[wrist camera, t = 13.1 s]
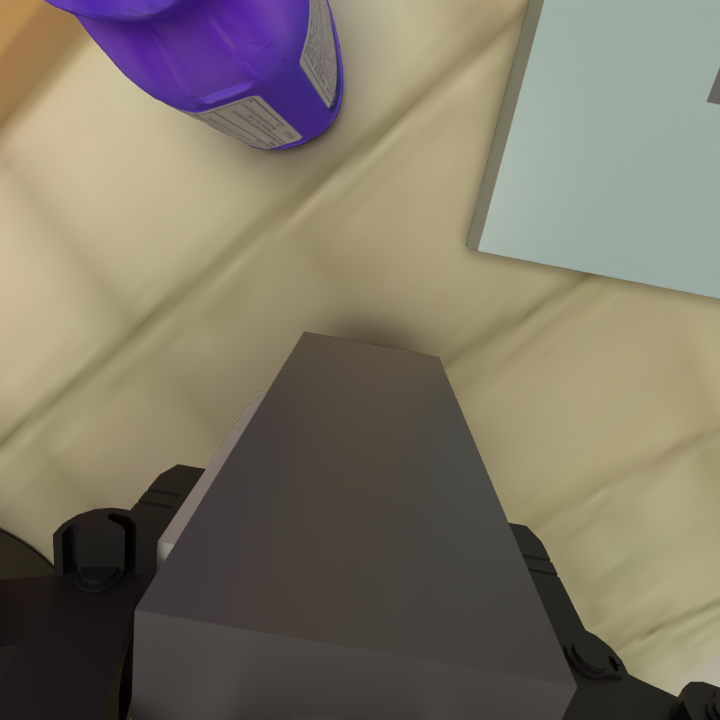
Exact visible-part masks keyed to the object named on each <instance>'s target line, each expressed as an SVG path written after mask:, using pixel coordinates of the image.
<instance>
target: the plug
mask: <svg viewBox="0 0 720 720" xmlns="http://www.w3.org/2000/svg"><path fill="white" fill-rule="evenodd" d="M576 689H577V685H576V682H575V680H574V677H573V675H572V673H571V670H570V668H569V666H568V663H567V661H566V658H565V656H564V654H563V651H562V649H561V647H560V644H559V642H558V639H557V637H556V635H555V632H554V630H553V628H552V625H551V623H550V620H549V618H548V616H547V613H546V611H545V609H544V606H543V604H542V601H541V599H540V597H539V594H538V592H537V590H536V587H535V585H534V582H533V580H532V578H531V575H530V573H529V571H528V568H527V566H526V563H525V561H524V559H523V556H522V554H521V551H520V549H519V547H518V544H517V542H516V540H515V537H514V535H513V532H512V530H511V528H510V525H509V523H508V521H507V518H506V516H505V513H504V511H503V509H502V506H501V504H500V502H499V499H498V497H497V494H496V492H495V490H494V487H493V485H492V483H491V480H490V478H489V475H488V473H487V471H486V468H485V466H484V464H483V461H482V459H481V456H480V454H479V452H478V449H477V447H476V445H475V442H474V440H473V437H472V435H471V433H470V430H469V428H468V425H467V423H466V421H465V418H464V416H463V414H462V411H461V409H460V406H459V404H458V402H457V399H456V397H455V395H454V392H453V390H452V387H451V385H450V383H449V380H448V378H447V376H446V373H445V371H444V368H443V366H442V364H441V361H440V359H439V357H436V356H431V355H425V354H420V353H415V352H410V351H404V350H399V349H394V348H388V347H383V346H378V345H373V344H367V343H362V342H357V341H351V340H346V339H341V338H336V337H330V336H325V335H320V334H315V333H309V332H304V333H303V335H302V336H301V338H300V339H299V341H298V343H297V344H296V346H295V348H294V349H293V351H292V353H291V354H290V356H289V357H288V359H287V361H286V362H285V364H284V366H283V367H282V369H281V371H280V372H279V374H278V376H277V377H276V379H275V380H274V382H273V384H272V385H271V387H270V389H269V390H268V392H267V394H266V395H265V397H264V399H263V400H262V402H261V403H260V405H259V407H258V408H257V410H256V412H255V413H254V415H253V417H252V418H251V420H250V422H249V423H248V425H247V426H246V428H245V430H244V431H243V433H242V435H241V436H240V438H239V440H238V441H237V443H236V444H235V446H234V448H233V449H232V451H231V453H230V454H229V456H228V458H227V459H226V461H225V463H224V464H223V466H222V467H221V469H220V471H219V472H218V474H217V476H216V477H215V479H214V481H213V482H212V484H211V486H210V487H209V489H208V490H207V492H206V494H205V495H204V497H203V499H202V500H201V502H200V504H199V505H198V507H197V508H196V510H195V512H194V513H193V515H192V517H191V518H190V520H189V522H188V523H187V525H186V527H185V528H184V530H183V531H182V533H181V535H180V536H179V538H178V540H177V541H176V543H175V545H174V546H173V548H172V550H171V551H170V553H169V554H168V556H167V558H166V559H165V561H164V563H163V564H162V566H161V568H160V569H159V571H158V573H157V574H156V576H155V577H154V579H153V581H152V582H151V584H150V586H149V587H148V589H147V591H146V592H145V594H144V595H143V597H142V599H141V600H140V602H139V604H138V605H137V607H136V609H135V614H134V646H133V678H132V710H131V720H562V718H563V716H564V714H565V712H566V709H567V707H568V705H569V703H570V701H571V699H572V697H573V695H574V693H575V691H576Z"/></svg>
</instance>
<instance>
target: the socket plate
mask: <svg viewBox="0 0 720 720" xmlns="http://www.w3.org/2000/svg"><path fill="white" fill-rule="evenodd" d="M466 246H469V247H471V248H473V249H475V250H477V251H481V252H486V253H491V254H496V255H501V256H506V257H511V258H517V259H522V260H527V261H532V262H537V263H542V264H547V265H552V266H557V267H562V268H567V269H572V270H578V271H583V272H588V273H593V274H598V275H603V276H608V277H613V278H618V279H623V280H628V281H633V282H639V283H644V284H649V285H654V286H659V287H664V288H669V289H674V290H679V291H684V292H689V293H694V294H700V295H705V296H710V297H715V298H720V0H529V3H528V7H527V11H526V14H525V18H524V22H523V26H522V30H521V34H520V38H519V42H518V46H517V50H516V53H515V57H514V61H513V65H512V69H511V73H510V77H509V81H508V85H507V88H506V92H505V96H504V100H503V104H502V108H501V112H500V116H499V120H498V123H497V127H496V131H495V135H494V139H493V143H492V147H491V151H490V155H489V159H488V162H487V166H486V170H485V174H484V178H483V182H482V186H481V190H480V194H479V197H478V201H477V205H476V209H475V213H474V217H473V221H472V225H471V229H470V233H469V236H468V240H467V244H466Z"/></svg>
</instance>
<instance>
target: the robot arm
mask: <svg viewBox="0 0 720 720" xmlns="http://www.w3.org/2000/svg"><path fill="white" fill-rule="evenodd" d="M266 394H267V393H265V392H260V391H258V392H257V393H256V395H255V396H254V398H253V399H252V401H251V402H250V404H249V405H248V407H247V408H246V410H245V411H244V413H243V414H242V416H241V417H240V419H239V420H238V422H237V423H236V425H235V426H234V428H233V429H232V431H231V432H230V434H229V435H228V437H227V438H226V440H225V441H224V443H223V444H222V446H221V447H220V449H219V450H218V452H217V453H216V455H215V456H214V458H213V459H212V461H211V462H210V464H209V465H208V467H207V468H206V469H202V468H196V467H190V466H185V465H179V464H178V465H176V466H174V467H172V468H171V469H169V470H167V471H165V472H164V473H162V474H160V475H159V476H158V477H157V479H156V480H155V481H154V482H153V483H152V485H151V486H150V487H149V488H148V491H146V492H145V493H144V494H143V496H142V497H141V498H140V499H139V501H138V504H137V503H136V504H135V505H134V506H133V508H132V509H131V510H130V511H129V510H125V509H118V508H104V509H94V510H91V511H88V512H85V513H82V514H79V515H77V516H75V517H73V518H71V519H70V520H68V521H66V522H65V523H63V524H62V525H61V526H60V527H59V528H58V530H57V531H56V532H55V533H54V534H53V548H54V570H53V569H52V568H51V567H50V566H49V564H47V563H46V562H45V561H44V560H43V559H42V558H41V557H40V556H39V555H37V554H36V553H35V552H34V551H32V550H31V549H30V548H28V547H27V546H25V545H24V544H23V543H21V542H19V541H18V540H16V539H14V538H13V537H11V536H9V535H7V534H5V533H3V532H1V531H0V720H130V719H131V710H132V678H133V646H134V614H135V609H136V607H137V605H138V604H139V602H140V600H141V599H142V597H143V595H144V594H145V592H146V591H147V589H148V587H149V586H150V584H151V582H152V581H153V579H154V577H155V576H156V574H157V573H158V571H159V569H160V568H161V566H162V564H163V563H164V561H165V559H166V558H167V556H168V554H169V553H170V551H171V550H172V548H173V546H174V545H175V543H176V541H177V540H178V538H179V536H180V535H181V533H182V531H183V530H184V528H185V527H186V525H187V523H188V522H189V520H190V518H191V517H192V515H193V513H194V512H195V510H196V508H197V507H198V505H199V504H200V502H201V500H202V499H203V497H204V495H205V494H206V492H207V490H208V489H209V487H210V486H211V484H212V482H213V481H214V479H215V477H216V476H217V474H218V472H219V471H220V469H221V467H222V466H223V464H224V463H225V461H226V459H227V458H228V456H229V454H230V453H231V451H232V449H233V448H234V446H235V444H236V443H237V441H238V440H239V438H240V436H241V435H242V433H243V431H244V430H245V428H246V426H247V425H248V423H249V422H250V420H251V418H252V417H253V415H254V413H255V412H256V410H257V408H258V407H259V405H260V403H261V402H262V400H263V399H264V397H265V395H266ZM509 525H510V528H511V530H512V532H513V535H514V537H515V540H516V542H517V544H518V547H519V549H520V551H521V554H522V556H523V559H524V561H525V563H526V566H527V568H528V571H529V573H530V575H531V578H532V580H533V582H534V585H535V587H536V590H537V592H538V594H539V597H540V599H541V601H542V604H543V606H544V609H545V611H546V613H547V616H548V618H549V620H550V623H551V625H552V628H553V630H554V632H555V635H556V637H557V639H558V642H559V644H560V647H561V649H562V651H563V654H564V656H565V658H566V661H567V663H568V666H569V668H570V670H571V673H572V675H573V677H574V680H575V682H576V685H577V689H576V691H575V693H574V695H573V697H572V699H571V701H570V703H569V705H568V707H567V709H566V712H565V714H564V716H563V718H562V720H720V688H719V687H717V686H714V685H711V684H708V683H705V682H690V683H689V684H687V685H686V686H685V687H684V688H683V689H682V691H681V693H680V695H679V696H678V697H676V696H674V695H672V694H670V693H668V692H665V691H663V690H661V689H659V688H656V687H654V686H652V685H650V684H648V683H645V682H643V681H641V680H639V679H637V678H635V677H633V676H631V675H629V674H628V672H627V670H626V668H625V666H624V664H623V662H622V660H621V659H620V658H619V657H618V656H617V654H616V653H615V652H614V651H613V650H612V648H611V647H610V646H608V645H607V644H606V643H605V642H603V641H602V640H601V639H600V638H598V637H597V636H596V635H594V634H592V633H590V632H588V631H586V630H585V628H584V626H583V624H582V622H581V620H580V618H579V616H578V614H577V612H576V610H575V608H574V606H573V604H572V602H571V600H570V598H569V596H568V594H567V592H566V590H565V588H564V586H563V584H562V582H561V580H560V578H559V577H557V572H556V570H555V568H554V566H553V564H552V563H551V562H550V558H549V556H548V554H547V552H546V550H545V548H544V546H543V544H542V542H541V541H540V540H539V539H538V538H537V537H536V536H535V535H534V533H533V532H532V531H531V530H530V529H529V528H528V527H527V526H524V525H518V524H513V523H509Z"/></svg>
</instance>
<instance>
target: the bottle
mask: <svg viewBox="0 0 720 720" xmlns="http://www.w3.org/2000/svg"><path fill="white" fill-rule="evenodd" d="M45 1H47V2H48V3H50V4H51V5H53V6H55V7H57V8H60V9H62V10H64V11H67V12H69V13H71V14H74V15H75V17H76V18H77V19H78V20H79V21H80V23H81V24H82V25H83V27H84V28H85V29H86V30H87V32H88V33H89V34H90V36H91V37H92V38H93V39H94V41H95V42H96V43H97V44H98V45H99V46H100V47H101V49H102V50H103V51H104V52H105V53H106V54H107V55H108V57H109V58H110V59H111V60H112V61H113V62H114V64H115V65H116V66H117V67H118V68H119V69H120V70H121V71H122V72H123V73H124V75H125V76H127V77H128V78H129V79H130V80H131V81H132V82H134V83H135V84H136V85H137V86H138V87H140V88H141V89H142V90H144V91H145V92H147V93H148V94H149V95H151V96H152V97H154V98H155V99H158V100H160V101H162V102H164V103H166V104H167V105H169V106H171V107H173V108H175V109H177V110H179V111H181V112H183V113H185V114H187V115H189V116H191V117H193V118H195V119H197V120H200V121H202V122H204V123H205V124H207V125H209V126H211V127H213V128H215V129H217V130H219V131H221V132H223V133H225V134H228V135H230V136H232V137H234V138H236V139H238V140H240V141H242V142H244V143H246V144H247V145H249V146H251V147H254V148H257V149H264V150H269V149H287V148H290V147H293V146H297V145H300V144H303V143H305V142H307V141H309V140H310V139H311V138H313V137H316V136H318V135H320V134H321V133H322V132H324V131H325V130H326V129H327V128H328V127H329V126H330V125H331V123H332V122H333V121H334V119H335V117H336V116H337V113H338V111H339V108H340V105H341V100H342V94H343V67H342V59H341V52H340V46H339V41H338V36H337V32H336V27H335V23H334V20H333V16H332V12H331V9H330V6H329V3H328V0H45Z"/></svg>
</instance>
